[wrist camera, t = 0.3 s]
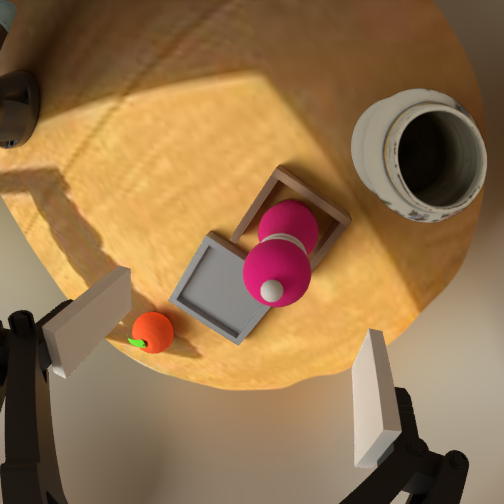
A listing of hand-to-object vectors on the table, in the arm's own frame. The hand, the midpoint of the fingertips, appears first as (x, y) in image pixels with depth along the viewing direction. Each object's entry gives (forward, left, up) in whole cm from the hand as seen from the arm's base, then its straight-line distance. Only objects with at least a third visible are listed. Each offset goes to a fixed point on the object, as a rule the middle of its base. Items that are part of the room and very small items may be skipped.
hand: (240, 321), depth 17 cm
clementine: (-6, -29, -28) cm, 41 cm away
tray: (0, -16, -28) cm, 32 cm away
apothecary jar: (+7, +14, -28) cm, 32 cm away
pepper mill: (+2, -2, -28) cm, 28 cm away
